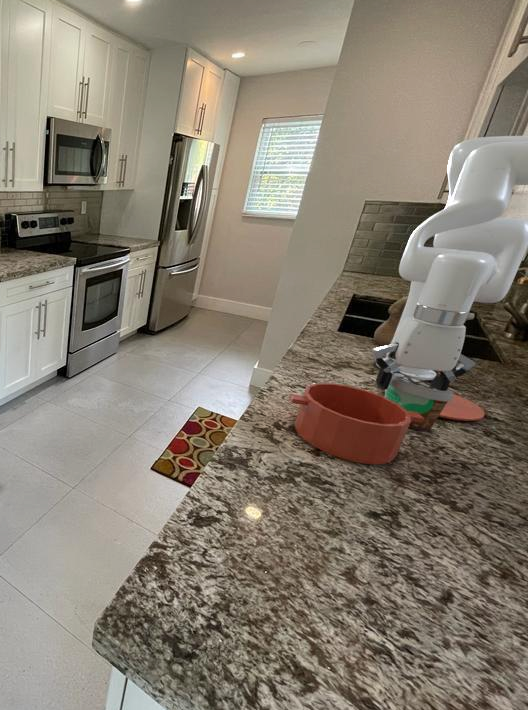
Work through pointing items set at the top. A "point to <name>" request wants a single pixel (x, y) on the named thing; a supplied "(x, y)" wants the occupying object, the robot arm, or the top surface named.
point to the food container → (417, 398)
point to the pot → (352, 422)
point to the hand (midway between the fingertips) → (407, 390)
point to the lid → (461, 409)
